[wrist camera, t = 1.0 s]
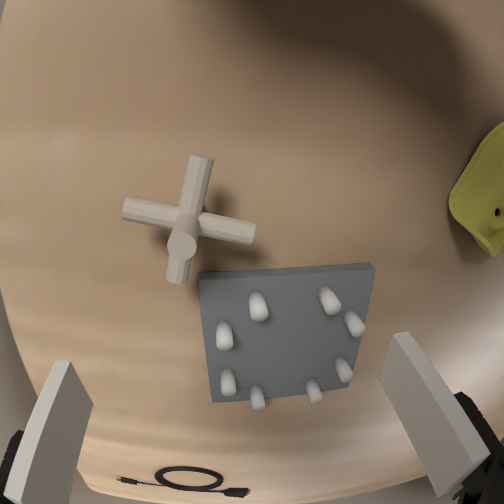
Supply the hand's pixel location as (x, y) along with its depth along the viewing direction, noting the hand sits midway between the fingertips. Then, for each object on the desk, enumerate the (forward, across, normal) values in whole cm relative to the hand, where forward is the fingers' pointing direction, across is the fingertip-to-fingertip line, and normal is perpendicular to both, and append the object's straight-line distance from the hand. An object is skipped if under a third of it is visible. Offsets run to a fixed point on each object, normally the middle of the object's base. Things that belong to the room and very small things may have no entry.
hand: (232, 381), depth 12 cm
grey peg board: (+19, +6, -15) cm, 25 cm away
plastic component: (+20, +35, +4) cm, 40 cm away
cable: (+19, -13, -51) cm, 56 cm away
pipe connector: (+20, -2, +2) cm, 20 cm away
